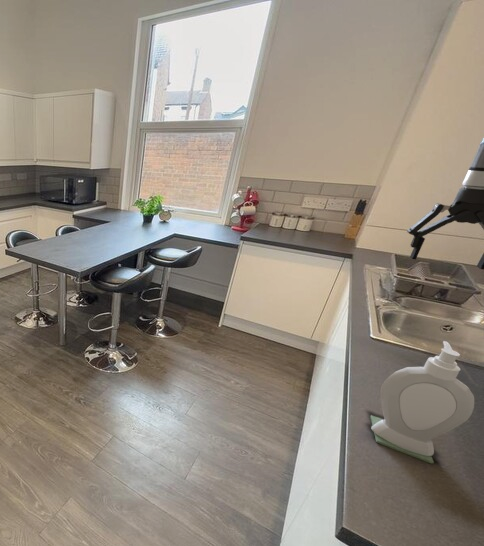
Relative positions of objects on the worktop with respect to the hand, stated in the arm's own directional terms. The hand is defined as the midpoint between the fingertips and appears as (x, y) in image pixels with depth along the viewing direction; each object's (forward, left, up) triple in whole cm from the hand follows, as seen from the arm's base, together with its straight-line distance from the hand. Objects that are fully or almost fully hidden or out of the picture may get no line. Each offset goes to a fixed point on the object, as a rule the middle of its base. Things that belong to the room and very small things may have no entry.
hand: (445, 263), depth 90 cm
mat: (+8, +46, -32) cm, 56 cm away
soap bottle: (+8, +46, -31) cm, 57 cm away
